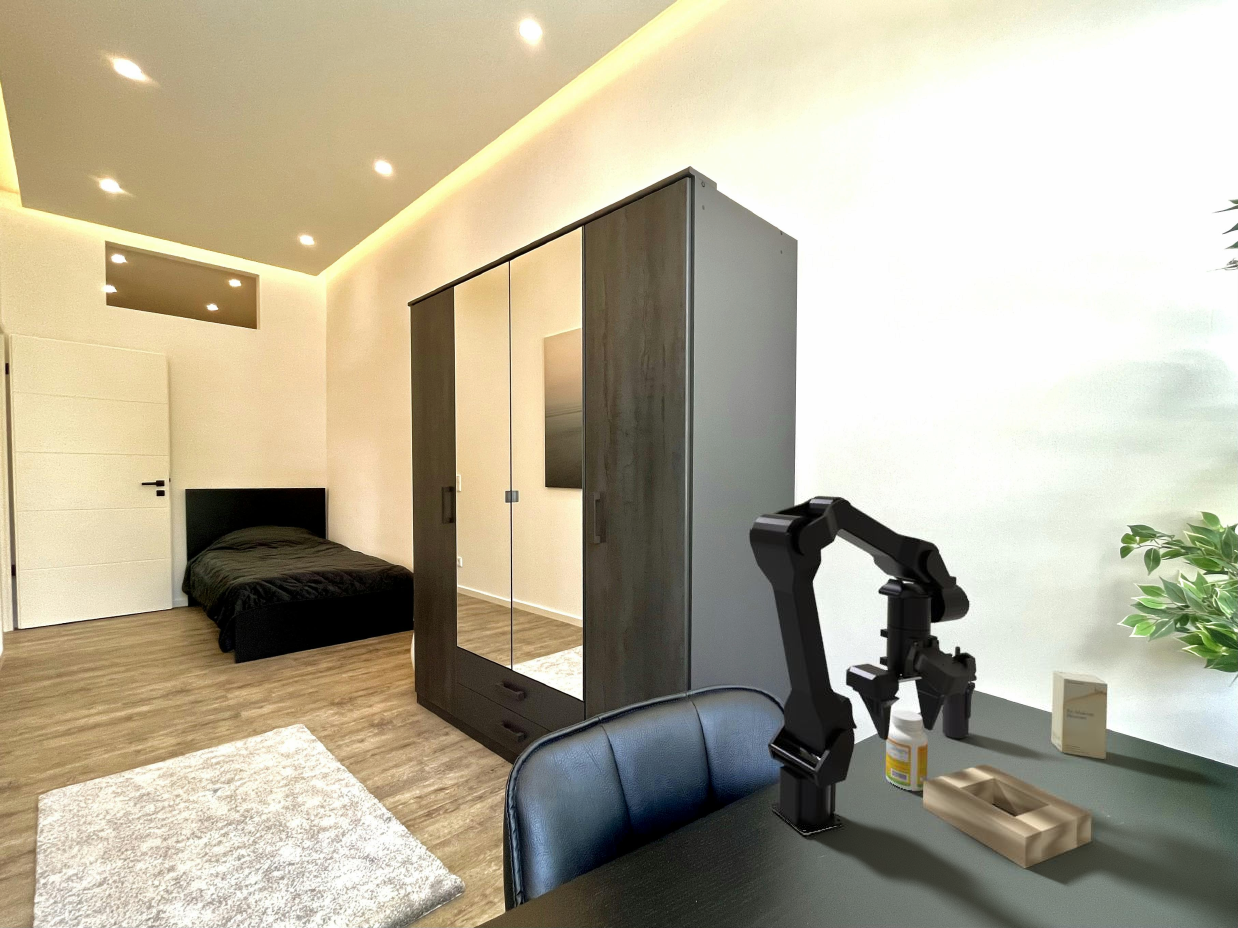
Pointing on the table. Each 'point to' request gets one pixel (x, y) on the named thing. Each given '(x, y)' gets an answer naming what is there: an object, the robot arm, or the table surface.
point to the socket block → (1022, 839)
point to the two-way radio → (957, 711)
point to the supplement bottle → (906, 751)
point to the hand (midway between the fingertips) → (906, 733)
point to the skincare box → (1079, 714)
